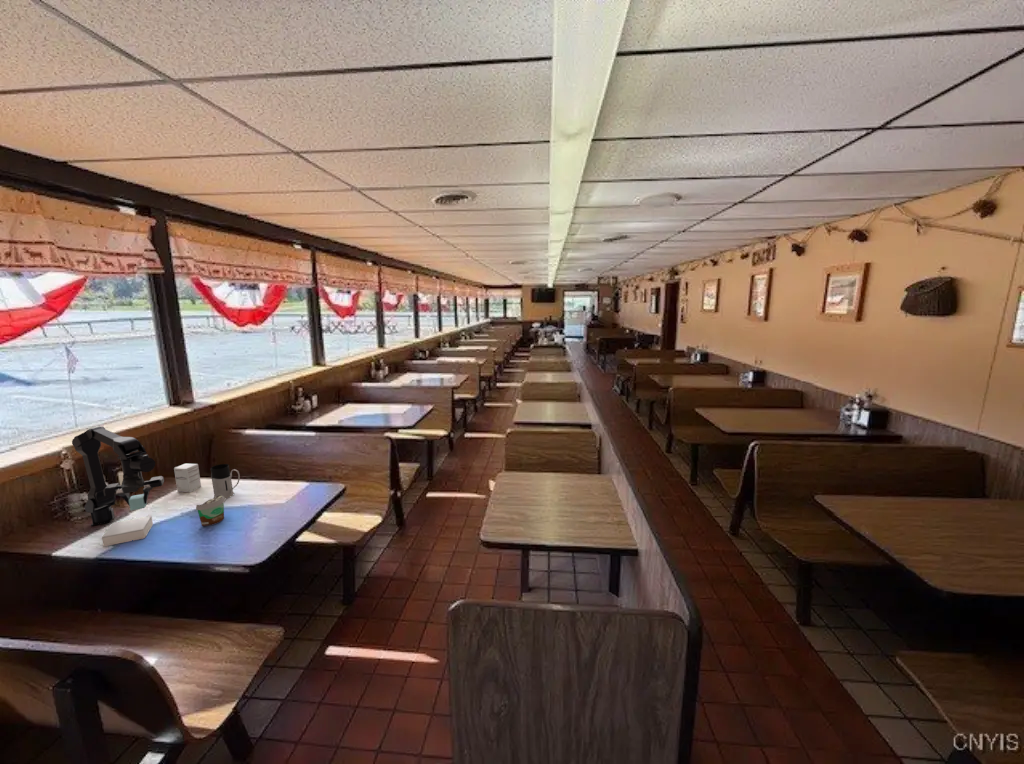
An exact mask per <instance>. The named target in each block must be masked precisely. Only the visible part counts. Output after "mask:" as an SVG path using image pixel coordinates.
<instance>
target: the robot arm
mask: <svg viewBox="0 0 1024 764" xmlns="http://www.w3.org/2000/svg"><path fill="white" fill-rule="evenodd" d="M102 443H103V444H105V445H107V446H109V447H111V448H112V451H113V452H114V453H115V454H116V455H118V456H117V457H116V458H117V460H120V463H121V468H122V469H121V470H122V482H121V484H120V482H117V483H109V484H107V483H106V480H105V476H104V472H103V468H102V464H101V460H100V457H99V451H100V448H101V447H102ZM71 444H72V446H73V447H74V449H75V451H76V453H78V454H79V455H81V456H82V459H83V462H84V463H83V464H84V467H85V470H86V474H87V478H88V481H89V482H88V483H89V486H90V489H89V491H88V493H87V501H86V503H85V505H84V511H85V513H90V515H91V516H90V517H91V521H92V523H91V524H90V526H96V525H97V526H98V525H103V524H107V523H111V522H112V521H113V519H114V518H116V516H115V512H114V507H112V506H115V504H116V496H119V497H121V498H122V499H123V500H124V501H125V502H126V504H127V505H128V506H129V501H128V500H129V499H130V497H131V495H130V494H131V493H136V492H138V491H139V488H141V487H144V488H143V489H142V491H143V494H144V502H145V504H146V503H147V504H148V498H149V494H150V492H151V490H153V489H154V488H158V487H162V486H163V485H164V482H165V479H164V476H162V475H159V476H153V477H151V478H150V479H149V480H145V479H144V478H143V474H142V473H150V472H151V471H153V470H154V469H155V466H156V461H155V459H153V458H152V457H150V456H149V454H148V452H147V451H146V448H145V447H144V445H142V443H141V442H140V441H139V440H138V439H137V438H135V437H132V436H121V435H119V434H117V433H114V432H112V431H111V430H109V429H106V428H105V427H104V426H100V425H99V426H95V427H92V428H89V429H86V431H84V432H82V433H80V434H77V435H76V436H74V438H73V439H72V440H71Z"/></svg>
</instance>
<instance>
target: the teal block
mask: <svg viewBox="0 0 1024 764" xmlns="http://www.w3.org/2000/svg"><path fill="white" fill-rule="evenodd" d="M128 501H129V505H128V507H129V509H130V512H131V511H136V510H142V509H145V508H146V507H147V505H148V502H147V503H146V504H145V502H144V493H142V494H136V495H135V494H133V495H130V499H129V500H128Z"/></svg>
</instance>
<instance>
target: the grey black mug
mask: <svg viewBox="0 0 1024 764" xmlns="http://www.w3.org/2000/svg"><path fill="white" fill-rule="evenodd" d="M234 471H235V472H236V473H237V481H236V484H235V485H234V486H233V481H232V477H233V472H234ZM210 473H211V474H210V477H211V478H210V479H211V482H212V483H211V484H212V489H213V498H215V497H217V496H218V494H222V495H223V496H224V498H226V499H228V497H229V498H231V497H230V496H232V495H233V494H234V495H235V492H234V489H235V488H236V487H237V486H238V485H239V483H240V480H241V479H240V478H241V476H240V475H241V474H240V471H239V470H237V469H235V468H234V469H232V470H231V471H230V465H229V464H228V463H222V464H221V463H220V464H216V465H213V466H211V467H210ZM234 495H233V496H234ZM233 496H232V497H233Z"/></svg>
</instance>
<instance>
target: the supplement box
mask: <svg viewBox="0 0 1024 764" xmlns="http://www.w3.org/2000/svg"><path fill="white" fill-rule="evenodd" d="M173 470H174V471H173V472H174V477H175V483H176V490H177V492H179V493H180V492H181V493H182V492H183V493H185V492H186V493H191V492H194V491H196V490H198V489H200V488H202V483H201V476H200V469H199V464H198V463H183V464H181V465H178V466H175V467H174V468H173Z"/></svg>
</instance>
